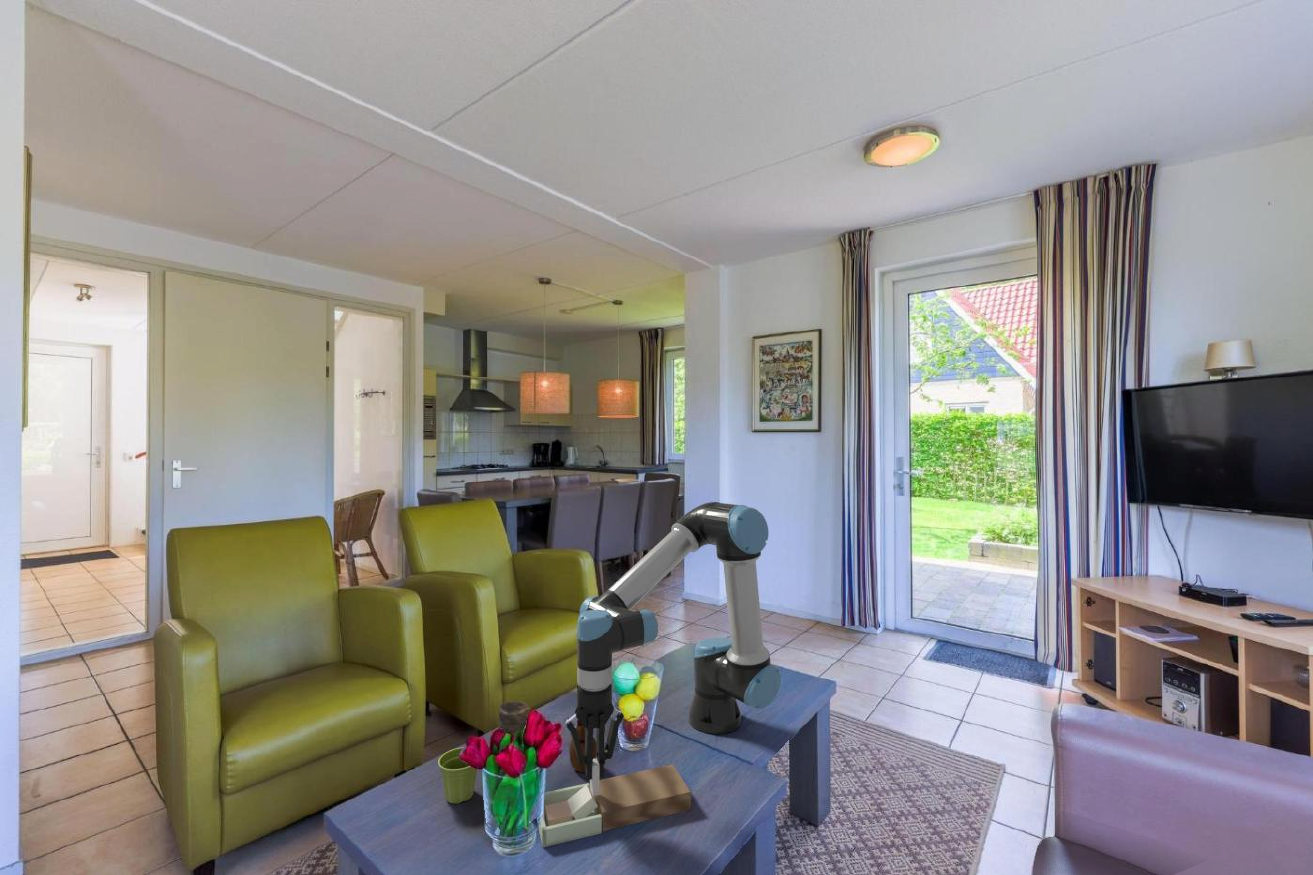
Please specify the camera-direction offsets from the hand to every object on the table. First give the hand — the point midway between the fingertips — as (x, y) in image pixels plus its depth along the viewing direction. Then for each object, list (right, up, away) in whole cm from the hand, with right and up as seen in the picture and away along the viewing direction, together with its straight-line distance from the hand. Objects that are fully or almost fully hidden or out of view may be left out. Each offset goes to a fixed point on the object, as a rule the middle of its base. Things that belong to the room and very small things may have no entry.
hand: (594, 791), depth 123 cm
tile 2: (-2, -3, -1) cm, 4 cm away
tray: (-6, -5, -2) cm, 8 cm away
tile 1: (-7, -2, -3) cm, 8 cm away
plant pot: (-32, -5, +7) cm, 33 cm away
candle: (-19, -5, +8) cm, 22 cm away
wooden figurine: (-5, -5, +17) cm, 19 cm away
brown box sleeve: (+10, -5, +4) cm, 12 cm away
